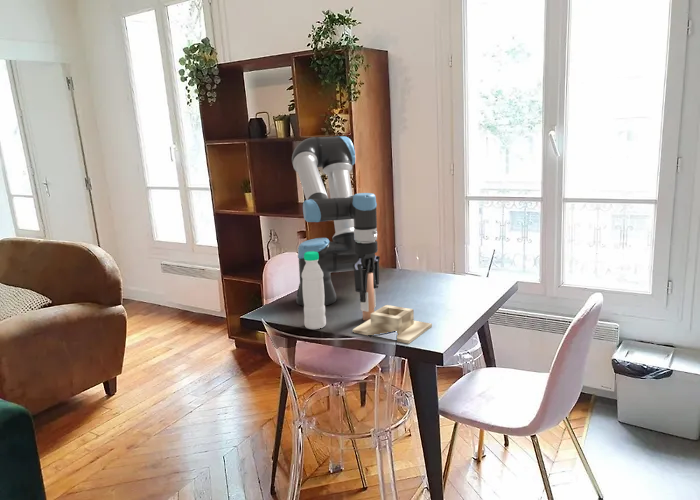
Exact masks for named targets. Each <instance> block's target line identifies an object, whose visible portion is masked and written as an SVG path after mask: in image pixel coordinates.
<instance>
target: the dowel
mask: <svg viewBox="0 0 700 500" xmlns="http://www.w3.org/2000/svg"><path fill="white" fill-rule="evenodd" d="M366 292H368V303H369V311H368V312H367V311H361V313H362V320H363V321H364V322H366V321H368V320H369V319H371V316H370V314H371V313H373V312H375V308H374V287H373V272H368V277H367V291H366Z"/></svg>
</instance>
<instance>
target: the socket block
mask: <svg viewBox="0 0 700 500" xmlns="http://www.w3.org/2000/svg"><path fill="white" fill-rule="evenodd" d="M414 314H415V312H414V308H406V307H402V306H395V305H390V304H385V305H384V306H381V307H379V308H378V309H377V310H374V312H373V313H371V314H370V316H371V319H369V320H368V321H364V322H363V323H361V324H360V325H357V326H356V327H354V328H353V329H352V333H353V332H354V334H360V335H363V336H368V335H374V334H380V333H387V332H392V331H397V333H398V335H397V341H396V342H398V343H404V344H411V343H412V342H414V341H415V340H416V339H417V338H419V337H420V336H422V335H424V333H425V332H427V331H428V330H429V329H431V328H432V327H433V324H432V323H430V322H424V321H420V320H419V321H418V320H414V319H415V318H414Z"/></svg>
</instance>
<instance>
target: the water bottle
mask: <svg viewBox="0 0 700 500" xmlns="http://www.w3.org/2000/svg"><path fill="white" fill-rule="evenodd" d="M304 259H305V262H306V264H305V266H304V269H303V272H302V279H303V280H302V289H303V301H304V306H303V315H304V317H303V318H304V320H303V321H304V322H303V323H304V326H305V328H306V329H308V330H320V328H321V329H323V328H324V327H326V325H327V318H326V305H324V282H323V271H322V269H321V268H320V265H319V264H318V260H319V254H318V252H315V251H309V252H306V253H305V254H304Z"/></svg>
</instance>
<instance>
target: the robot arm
mask: <svg viewBox="0 0 700 500" xmlns="http://www.w3.org/2000/svg"><path fill="white" fill-rule="evenodd" d="M291 155H292V156H291V163H292V166H293V170H294V171H295V172H297V174H298V177H299V182H300V184H301V187H302V190H303V194H304V197H305V200H304V201H303V203H302V213H303V219H304V220H305V222H307V223H320V222H321V223H322V222H331V221H333V224H334V232H335V233H334V234H333V236H332V241H330V240H329V238H327V237H315V238H312V239H308V240H304V241H303V242H300V244H299V245H298V247H297V248H298V249H297V258H298V267H299V268H298V269H299V270H298V271H299V273H298V274H299V284H298V287H297V293H296V295H295V299H296V301H295V302H296V304H297V305H299V306H302V307H304V301H303V289H302V280H303V279H302V272H303V269H304V266H305V264H306V262H305V259H304V254H305V253H306V252H309V251H315V252H318V254H319V260H318V264H319V265H320V268H321V269H322V271H323V282H324V305H325V306H329V305H331V304H334V303H336V302H337V293H336V291H335V287H334V285H333V282H332V276H331V273H339V272H340V273H341V272H350V271H351V272H352V271H353V275H354V287H355V290H354V291H355V292H356V293H359V301H360V311H361V312H362V311H367V312H368V311H369V303H368V292H366V291H367V277H368V272H373V287H374V309H375V308H376V305H377V304H376V303H377V301H376V299H377V298H376V289H378V288H379V285H380V260H381V257H380V256H379V255H376V254H377V253H378V250H379V249H378V247H379V246H378V241H377V240H378V226H377V225H378V221H377V220H378V219H377V206H378V204H377V198H376V194H375V193H372V192H358V193H355V194H353V189H352V183H351V177H350V173H351V171H352V169H353V166H354V165H355V163H356V151H355V146H354V144H353V142H352V140H351V138H349V136H348V137H347V136H344V135H343V136H340V135H336V136H320V137H319V136H318V137H314V136H312V137H309V138H306V139H304V140H302V141H301V142H299V143H298V144H297V146H296V147H295V149H293V152H292V154H291ZM319 168H322V172H323V174H324V175H326V176H327V181H328V189H329V196H328V193H327V191H326V188H325V185H324V181H323V179H322V177H321V174H320V171H319ZM329 197H330V198H329Z"/></svg>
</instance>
